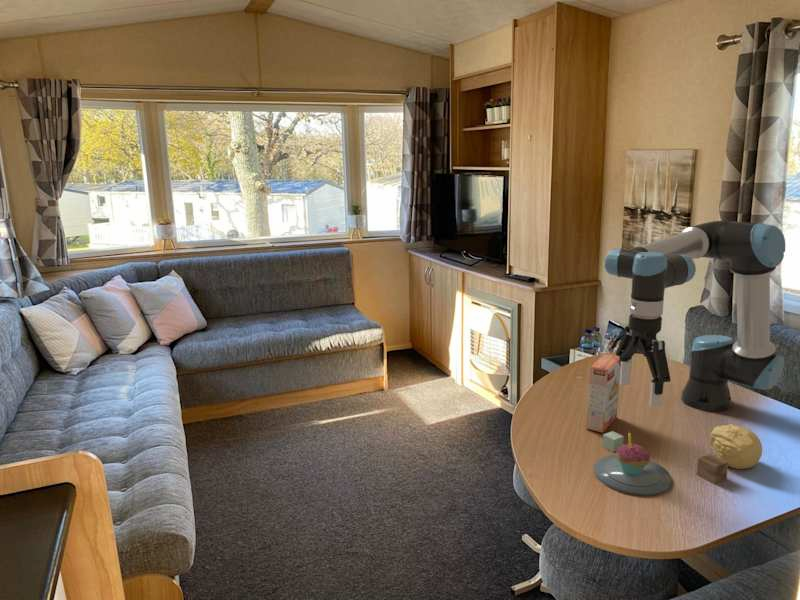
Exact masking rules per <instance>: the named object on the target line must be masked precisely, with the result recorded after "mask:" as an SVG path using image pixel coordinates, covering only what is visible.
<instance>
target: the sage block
mask: <svg viewBox="0 0 800 600" xmlns="http://www.w3.org/2000/svg"><path fill="white" fill-rule="evenodd" d="M624 438H625V436H624V435H622V434H620V433H618V432H616V431H609V432H606V433H602V445H601V446H602V448H604V449H606V450H608V451H610V452H612V453H615V452H616V450H617V449H618V448H619V447H620V446H621V445H624Z"/></svg>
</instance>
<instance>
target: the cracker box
mask: <svg viewBox="0 0 800 600" xmlns="http://www.w3.org/2000/svg"><path fill="white" fill-rule="evenodd" d="M620 366H621V360H620V359H619V356H617V355H611V354H607V353H606V354H604V355H602V356H600V358H599V359H598V360H597V361H595V362H594V363H593V364H592V365H591V366H590V371H589V384H588V386H589V387H588V399H587V411H586V421H585V422H586V423H585V424H586V425H585V429H586V430H589V431H593V432H596V433H597V432H598V433H601V434H605V432H606V431H607V429H609V426H611V424H612V423H613V422H615V420H616V419H617V415H618V406H619V395H620V387H621V385H620V384H619V383H620Z"/></svg>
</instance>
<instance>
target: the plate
mask: <svg viewBox="0 0 800 600" xmlns="http://www.w3.org/2000/svg"><path fill="white" fill-rule="evenodd" d="M593 471H594V475H595V477H596V478H597V479H598V481H600V482H601V483H602V484H604V485H605V486H606V487H608V488H610V489H612V490H614V491H618V492H620V493H623V494H627V495H631V496H632V495H633V496H641V497H642V496H643V497H644V496H645V497H650V496H656V495H660V494H663V493H665V492H666V491H668V490H669V489H670V487H671V485H672V476H671V475H670V473H669V471H668V470H667V469H666V468H665V467H664V466H662V465H661V464H659V463H657V462H655V461H653V460H651V459H650V462H649V464H648V465H645V467H644V468H643V470H642V472H641V474H639V475H629V474H627V473H625V472H624V471H623V470H622V466H621V463H620V461H619V460H618V459H617V457H616V454H609V455H605V456H603V457H600V458H598V459H597V461H596V462H595V463H594V470H593Z"/></svg>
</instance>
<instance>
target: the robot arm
mask: <svg viewBox="0 0 800 600" xmlns="http://www.w3.org/2000/svg"><path fill="white" fill-rule="evenodd" d="M785 252H786V239H785V235H784V233H783V232H782V230H781V229H780V228H779V227H778V226H776V225H774V224H773V225H772V224H767V223H764V222H745V221H731V220H714V221H709V222H704V223H700V224H696V225H693V226H689V227H686V228H684V229H683V230H681V232H680V233H677V234H674V235H672V236H669V237H665V238H662V239H657V240H656V241H652V242H649V243H645V244H643V245H638V246H636V247H632V248H626V249H625V248H623V247H620V248H618V247H617V248H615V247H614V248H611V249H610V250H609V251H608V252H607V254H606V256H605V258H604V268H605V269H604V270H605V271H606V272H607V273H608V274H609V275H611V276H616V277H618V278H626V279H631V294H630V297H631V298H630V304H629V307H630V308H629V313H630V315H629V318H628V326H625V327H624V331H623V335H622V338H621V340H620V342H619V345H618V346H617V349H616V351H615V356H618V357H619V359H620V360H621V366H620V383H619V384H620V386H626V385H628V386H629V385H631V378H632V365H633V361H631V360H633V356H634V355H636V352H637V351H639V352H641V353H642V355H643V356H644V357H645V358H646V362H647V364H648V367H649V370H650V372H651V373H650V374H651V376H652V379H651V380H650V388H649V389H650V390H649V400H648V401H649V403H648V406H649V407H658V406H662V396H663V392H664V383H669V382H671V376H670V375H671V374H670V368H669V365H668V359H667V355H666V354H667V353H666V342H665V340H658V339H657V335H658V334H659V333H660V332H661V330H662V322H663V318H662V315H663V314H664V299H665V298H664V296H665V291H666V289H667V288H671V287H672V288H673V287H675V286H680V285H681V286H682V285H684V284H685V283H688V282H690V281H692V279H694V277H695V275H696V271H697V269H696V268H697V267H696V264H695V261H694V260H693V259H695V260H697V259H700V258H705V259H706V258H708V259H716V260H720V261H721V260H722V261H728V262H729V270H730V272H731V273H733V274H734V275H735V287H736V288H735V291H736V292H735V293H736V325H737V327H736V328H737V329H736V330H737V333H736V334H737V340H736V341H735V342H734V339H733V338H732V337H730V336H728V335H722V334H720V335H719V334H707V335H700V336H697V337H696V338H695V339H694V340H693V342H692V347H691V354H690V363H689V365H690V366H689V374H688V375H689V376H688V380H687V381H686V383H685V386H684V388H683V389H682V391H681V398H680V399H681V402H683V403H684V404H685V405H687V406H690V407H692V408H694V409H698V410H703V411H708V412H723V411H727V410H729V409H731V407H732V397H731V393H730V392H731V391H730V388H729V383H728V382H729V381H731V382H735V383H738V384H742V385H744V386H748V387H751V388H753V389H759V390H763V391H768V390H771V389H772V388H774V386H775V385H776V384H777V383H778V382H779V380H780V377H781V376H782V374H783V370H784V367H785V358H784V357H783V356H782V355H781V354H777V351H776V350H777V348H776V345H775V344H774V342H772V341H771V282H770V281H771V280H770V277H771V274H772V273H773V272H775V270H776V269H777V267H778V266H780V264H781V263H782V262H783V260H784V257H785V254H784V253H785Z"/></svg>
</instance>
